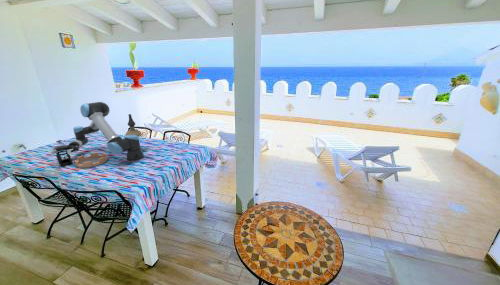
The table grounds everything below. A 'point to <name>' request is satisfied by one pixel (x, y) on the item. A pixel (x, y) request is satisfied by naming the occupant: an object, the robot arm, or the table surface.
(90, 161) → the castellated ring
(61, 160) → the french press
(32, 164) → the table surface
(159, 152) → the table surface
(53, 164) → the table surface
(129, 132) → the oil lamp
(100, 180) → the table surface
